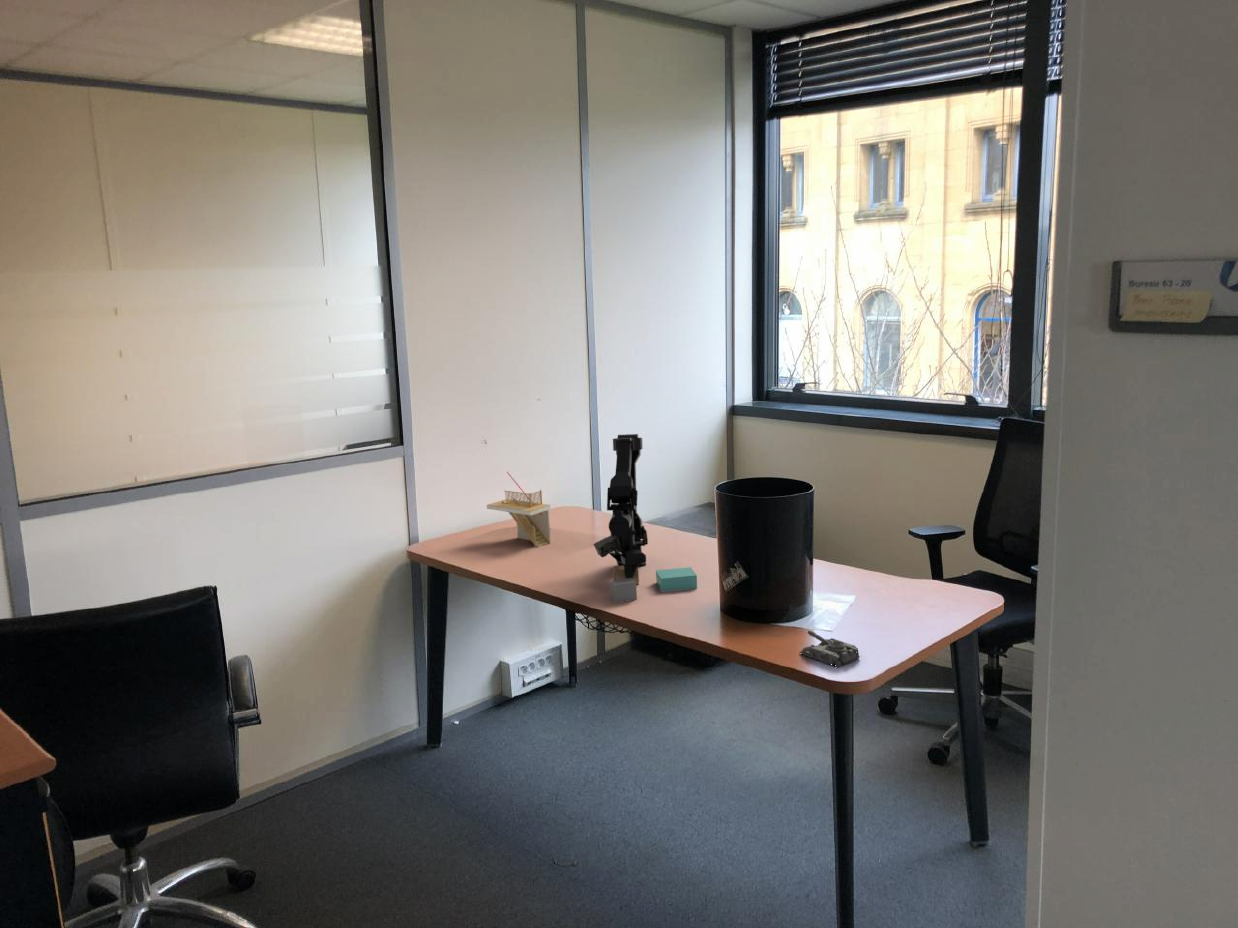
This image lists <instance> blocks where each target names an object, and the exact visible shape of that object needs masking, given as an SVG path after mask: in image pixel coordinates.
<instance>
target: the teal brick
mask: <svg viewBox="0 0 1238 928" xmlns="http://www.w3.org/2000/svg"><path fill="white" fill-rule="evenodd" d="M697 576H698V575H697V574H696V572H695V571H694V570H693V569H692V567H691V566H687V567H677V568H667V569H656V570H655V580H656V581H655V582H656V584H657V586H658V588H659V590H660V591H661V592H669V591H680V590H681V591H682V590H691V589H693V590H694V589H698V579H697Z"/></svg>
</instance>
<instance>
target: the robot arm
mask: <svg viewBox="0 0 1238 928" xmlns="http://www.w3.org/2000/svg"><path fill="white" fill-rule="evenodd" d="M612 450H613V452H615V454H616V463H615V465H616V466H615V474H614V476H613V477H612V478H610V482H609V487H607V493H606V494H607V497H606V498H607V499H606V511H612V515H611V516H610V517H611V518H610V520H609V522H608V531H609V532H610V535H608V536H607V537H604V538H602V539H600V540H598V541H596V542H595V543H594V544H593V546H594V548H595V551H596V553H597V555H598V556H600V558H605V557H606V556H608V555H610V556H611V557H612V558H613V559H614V560H615V562H616V564H617V566H620V565H623V566H624V571H625V576H626V579H627V578H633V576H634V574H635V571H636V569H637V567H638V568H639V567H641V566H646V565H647V554H645V553H644V552H643V551H642V547H645V546H646V545H647V546H648V544H649V540H648V532H647V531H648V530H646V527H645V525H643V520H642V518H641V517H640V515H639V513H638V510H637V509H638V495H639V494H638V493H639V492H638V490H637V467H636V464H637V462H638V460H639V458H640V457H641V455H642V454H641V452H642V451H641V450H643V438H642V437H639V434H638V433H631V434H629V433H628V434H627V433H626V434H618V435H617V437H614V438H612Z"/></svg>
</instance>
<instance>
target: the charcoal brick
mask: <svg viewBox="0 0 1238 928" xmlns="http://www.w3.org/2000/svg"><path fill="white" fill-rule="evenodd" d="M609 582H610V583H609V585H610V599H611V600H612V601H613V602H614V603H615V602H616V603H615V604H618V603H623V602H622V601H624V602H629V600H630V601H636V600H638V598H637V597H638V594H637V592H638V591H637V585H636V582H635V581H634V580H633V579H632V578H627V579H621V580H614V579H613V580H609ZM617 602H618V603H617Z"/></svg>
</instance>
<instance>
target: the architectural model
mask: <svg viewBox="0 0 1238 928" xmlns="http://www.w3.org/2000/svg"><path fill="white" fill-rule="evenodd" d="M506 473H507V474H508V476H509V477H510V478H511V480H512V481H513V482H514V483H515V484H516V485H517V487H518V488H519V490H521V492H519V491H511V490H504V493H505V495H506V497H505V499H503V500H499V501H495V502H491V503H489V504H486V509H487V510H493V511H501V512H504V513H505V512H507V513H509V515H510V516H511V517H512V518H513V520H514V521H515V522H516V531H517V539H520V538H521V540H527V541H531V543H533V546H534V548H540V547H542V546H545V545H550V543H552V539H551V525H550V524H551V523H550V510H551V505H550V504H548V503H543V498H542V495H543V494H542V493H543V492H542V489H540V490H538V491H535V492H532V493H531V492H529V493H526V492H525V491H524V490H523V489H522V488H521V486H520V485H519V484H518V483H517V481H516V480H515V479H514V478H513V477H512V475H511V474H510V473H509V471H506Z"/></svg>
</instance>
